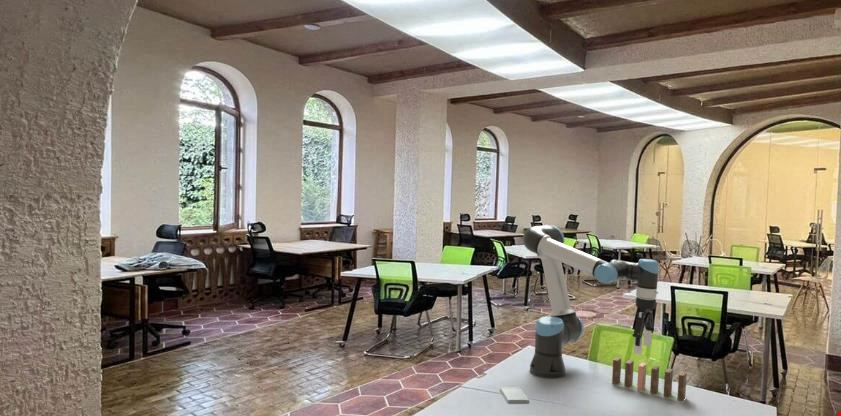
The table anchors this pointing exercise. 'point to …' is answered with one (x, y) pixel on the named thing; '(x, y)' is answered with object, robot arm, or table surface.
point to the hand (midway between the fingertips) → (642, 349)
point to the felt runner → (648, 390)
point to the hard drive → (514, 395)
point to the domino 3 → (641, 376)
